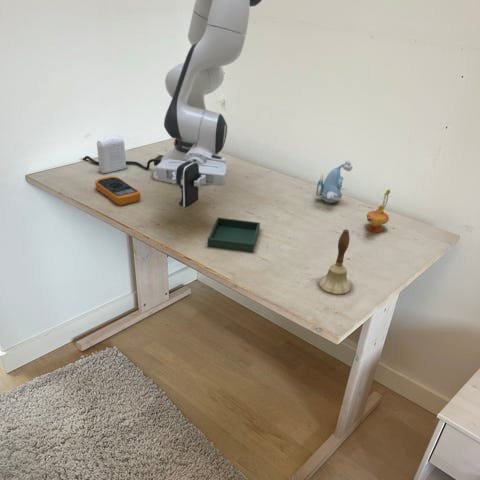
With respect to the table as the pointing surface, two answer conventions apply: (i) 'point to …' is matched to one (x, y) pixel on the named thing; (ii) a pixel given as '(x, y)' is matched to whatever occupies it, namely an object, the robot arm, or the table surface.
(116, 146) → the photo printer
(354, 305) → the table surface
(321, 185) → the toy figure
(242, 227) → the storage box
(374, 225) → the magic lamp
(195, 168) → the battery charger
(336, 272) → the hand bell
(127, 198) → the multimeter
